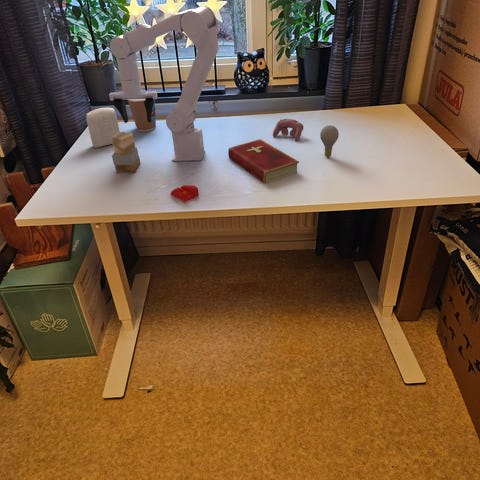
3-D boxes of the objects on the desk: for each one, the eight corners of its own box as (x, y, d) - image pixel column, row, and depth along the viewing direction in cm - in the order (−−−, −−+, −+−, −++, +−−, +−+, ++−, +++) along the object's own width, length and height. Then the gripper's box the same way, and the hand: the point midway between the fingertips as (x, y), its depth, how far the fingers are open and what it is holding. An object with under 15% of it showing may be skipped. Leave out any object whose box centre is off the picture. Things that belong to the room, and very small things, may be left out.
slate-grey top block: (138, 156, 138) (136, 147, 136) (133, 164, 133) (131, 155, 131) (120, 156, 139) (118, 147, 137) (113, 164, 134) (111, 155, 132)
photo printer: (119, 138, 159) (111, 103, 152) (123, 141, 156) (116, 106, 149) (91, 145, 154) (82, 110, 147) (95, 149, 151) (86, 114, 144)
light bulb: (340, 156, 137) (342, 125, 131) (330, 162, 134) (332, 130, 128) (325, 151, 140) (327, 121, 134) (315, 157, 137) (317, 126, 131)
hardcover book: (264, 185, 125) (264, 171, 123) (228, 159, 140) (227, 147, 138) (298, 173, 130) (299, 160, 127) (260, 150, 145) (260, 138, 142)
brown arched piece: (301, 142, 151) (306, 121, 149) (296, 141, 147) (301, 119, 145) (276, 138, 155) (280, 117, 154) (270, 136, 151) (275, 115, 150)
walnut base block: (140, 164, 140) (139, 156, 138) (135, 173, 135) (133, 164, 133) (122, 165, 140) (120, 156, 138) (116, 173, 135) (114, 164, 134)
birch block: (135, 149, 135) (132, 134, 132) (125, 155, 132) (121, 139, 129) (125, 147, 137) (121, 131, 134) (114, 152, 134) (110, 136, 131)
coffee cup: (157, 132, 161) (152, 99, 154) (130, 133, 162) (123, 101, 155) (162, 122, 170) (157, 90, 163) (135, 123, 170) (129, 92, 163)
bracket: (198, 197, 121) (197, 187, 119) (185, 203, 118) (183, 193, 117) (184, 189, 125) (183, 180, 123) (170, 195, 122) (169, 186, 121)
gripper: (156, 73, 136) (162, 116, 144) (110, 75, 137) (119, 117, 145) (151, 80, 130) (158, 124, 138) (103, 81, 131) (113, 125, 139)
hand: (138, 121), depth 141 cm, fingers open, 7 cm apart
